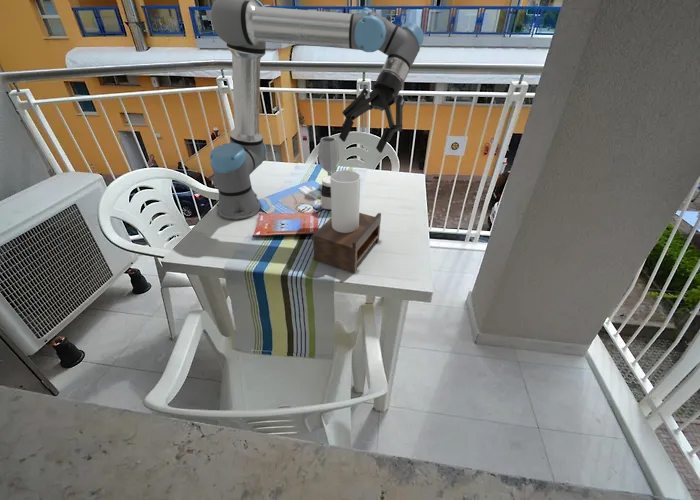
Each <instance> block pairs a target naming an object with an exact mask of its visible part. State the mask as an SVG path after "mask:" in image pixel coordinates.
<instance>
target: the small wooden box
mask: <svg viewBox="0 0 700 500" xmlns="http://www.w3.org/2000/svg"><path fill="white" fill-rule="evenodd" d="M381 220H382V213H381V212H377V214H376V215H375V216H373V215H370V214H367V213H363V212H359V227H358V229H357V230H355V231H353V232H350V233H341V232H337V231H335V230H334V229H333V228H332V217H330V218H329V219H328V220H327V221H325V223H324V224H323V225H322V226H320V227H319V228H318V229H317V230H316V232H314V233H313V234H312V245H313V246H312V247H313V257H314V258H313V259H314V260H316V261H319V262H322V263H325V264H327V265H331V266H332V267H333V266H334V267H336V268H339V269H342V270H345V271H347V272H351V273H353V274H356V273H357V270H358V269H357V268H358V267H357V266H358V263H359V262H360V261H361V260H362V259H363V257H364V256H365V255H366V253H367V252H368V251H369V250H370V248H371V247H372V246H373V244H374V243H375V244H378V243H379V242H380V234H381Z"/></svg>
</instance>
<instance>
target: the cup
mask: <svg viewBox="0 0 700 500" xmlns="http://www.w3.org/2000/svg"><path fill="white" fill-rule="evenodd" d="M330 179H331V212H330V213H331V215H330V216H331V218H332V228H333V229H334V230H335V231H337V232H341V233H350V232H353V231H355V230H357V229H358V227H359V213H360V204H361V203H360V202H361V175H360V173H359V172H356V171H353V170H349V169H344V170H343V169H342V170H337V171H334V172H331V177H330Z"/></svg>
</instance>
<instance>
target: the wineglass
mask: <svg viewBox="0 0 700 500" xmlns="http://www.w3.org/2000/svg"><path fill="white" fill-rule="evenodd" d="M317 155H318V156H317V157H318V158H317V159H318V163H319V166H320V168H321V169H323V170H324V171H325V172H327V176H331V174H332V173H333V171H334V170H336V169H337V168H338V165H339V162H340V149H339V143H338V140H337V138H336V137H333V136H324V137H321V138H320V140H319V144H318V152H317ZM321 187H322V183H321V184H320V186H319V187H318V189H319V190H321Z"/></svg>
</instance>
